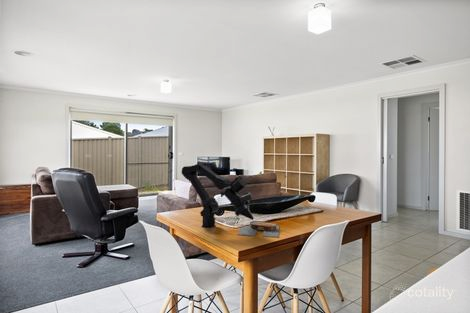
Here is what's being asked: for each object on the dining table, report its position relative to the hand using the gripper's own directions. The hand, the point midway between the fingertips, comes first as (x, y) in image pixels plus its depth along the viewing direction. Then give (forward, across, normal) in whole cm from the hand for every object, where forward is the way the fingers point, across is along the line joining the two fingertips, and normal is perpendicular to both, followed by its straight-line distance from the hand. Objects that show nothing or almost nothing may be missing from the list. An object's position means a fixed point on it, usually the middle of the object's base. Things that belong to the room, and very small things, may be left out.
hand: (253, 218), depth 152 cm
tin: (+6, 0, +1) cm, 7 cm away
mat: (+7, +1, +2) cm, 7 cm away
